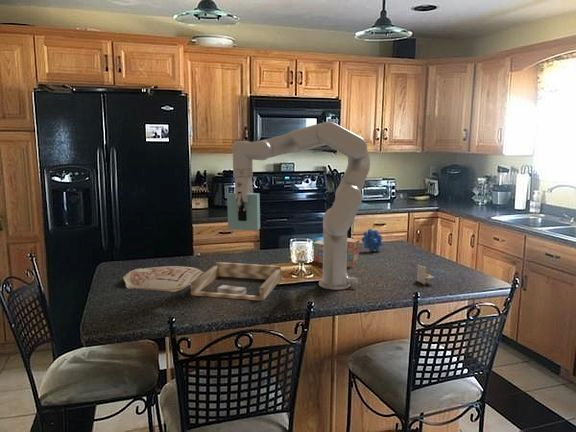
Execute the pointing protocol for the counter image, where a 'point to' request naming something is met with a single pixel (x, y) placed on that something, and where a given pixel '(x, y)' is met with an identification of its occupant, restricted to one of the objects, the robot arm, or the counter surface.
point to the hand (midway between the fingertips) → (244, 219)
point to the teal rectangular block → (251, 213)
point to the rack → (240, 271)
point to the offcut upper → (231, 289)
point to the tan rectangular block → (351, 252)
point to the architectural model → (422, 274)
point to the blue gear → (372, 240)
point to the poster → (162, 278)
